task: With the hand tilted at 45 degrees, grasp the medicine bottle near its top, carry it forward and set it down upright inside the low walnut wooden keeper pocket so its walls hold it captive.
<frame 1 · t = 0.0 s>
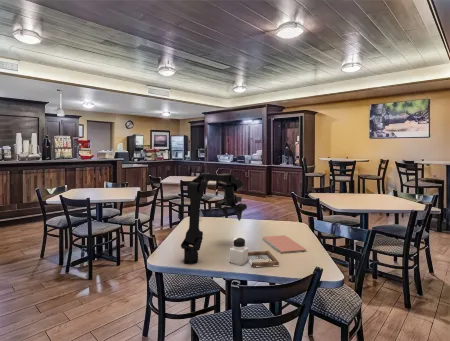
hand: (233, 219, 174), 15 cm above the table, tool pointing down, fingers open, 9 cm apart
keeper: (259, 260, 151), on the table
notebook: (282, 245, 176), on the table
medicine bottle: (238, 262, 149), on the table
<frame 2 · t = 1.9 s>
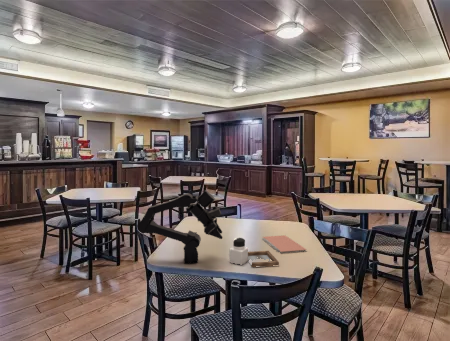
hand: (221, 235, 147), 13 cm above the table, tool tilted 45°, fingers open, 9 cm apart
nothing on the table moved.
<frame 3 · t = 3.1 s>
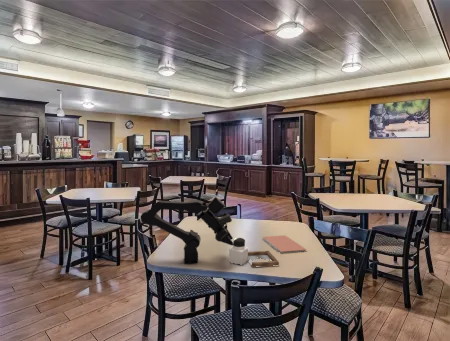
hand: (232, 241, 148), 10 cm above the table, tool tilted 45°, fingers open, 9 cm apart
nothing on the table moved.
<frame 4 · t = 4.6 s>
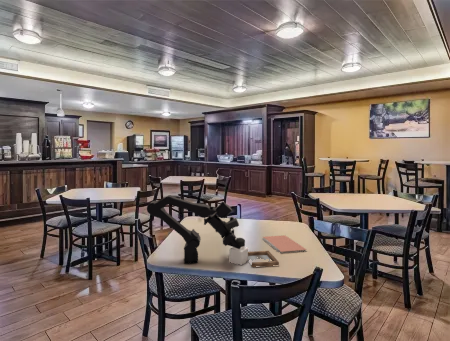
hand: (239, 246, 148), 8 cm above the table, tool tilted 45°, fingers closed on medicine bottle, 6 cm apart
medicine bottle: (238, 262, 149), on the table, touching gripper
everything else where it was.
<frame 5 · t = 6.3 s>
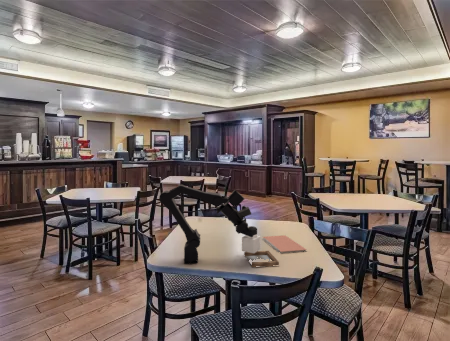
hand: (251, 234, 149), 14 cm above the table, tool tilted 45°, fingers closed on medicine bottle, 6 cm apart
medicine bottle: (250, 250, 149), point 6 cm above the table, touching gripper
everything else where it was.
when the fingers open (10 cm above the table, at t = 8.0 s): medicine bottle drops 1 cm, resting on keeper.
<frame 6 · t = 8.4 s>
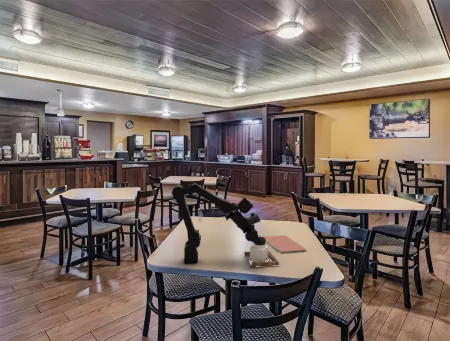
hand: (260, 241, 150), 10 cm above the table, tool tilted 45°, fingers open, 9 cm apart
medicine bottle: (259, 260, 150), resting on keeper
everything else where it was.
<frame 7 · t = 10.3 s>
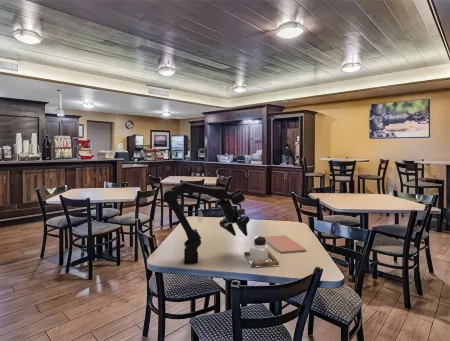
hand: (240, 235, 153), 12 cm above the table, tool tilted 25°, fingers open, 9 cm apart
nothing on the table moved.
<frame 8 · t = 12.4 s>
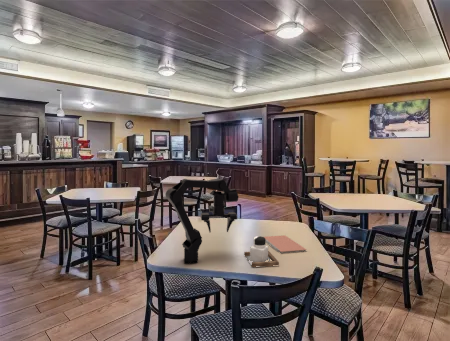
hand: (218, 232, 155), 13 cm above the table, tool pointing down, fingers open, 9 cm apart
nothing on the table moved.
at the end: medicine bottle inside the target area on the keeper (0.2 cm from its centre), point 0.1 cm above the keeper's base; medicine bottle tilted 0°; the gripper is holding nothing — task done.
